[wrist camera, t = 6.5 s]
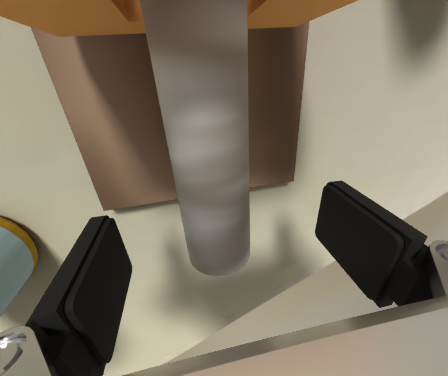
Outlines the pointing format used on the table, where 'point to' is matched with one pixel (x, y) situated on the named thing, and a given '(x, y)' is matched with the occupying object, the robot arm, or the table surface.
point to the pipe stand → (185, 115)
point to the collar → (133, 20)
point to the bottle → (14, 261)
